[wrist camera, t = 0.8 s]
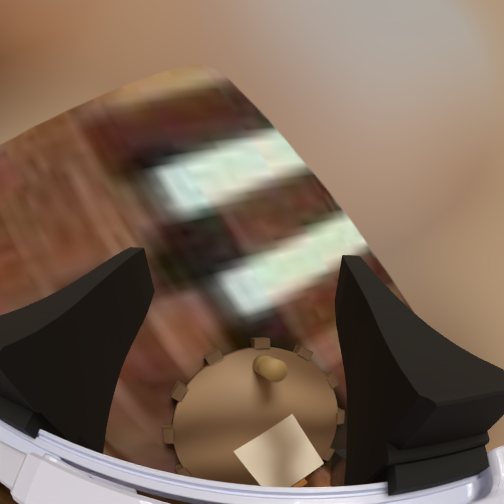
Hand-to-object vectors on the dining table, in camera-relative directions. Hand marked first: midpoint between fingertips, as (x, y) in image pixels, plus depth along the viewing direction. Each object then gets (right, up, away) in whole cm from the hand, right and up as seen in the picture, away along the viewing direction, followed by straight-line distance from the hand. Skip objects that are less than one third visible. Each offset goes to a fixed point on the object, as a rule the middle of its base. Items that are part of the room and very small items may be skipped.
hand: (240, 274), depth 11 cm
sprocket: (+1, -16, +15) cm, 22 cm away
